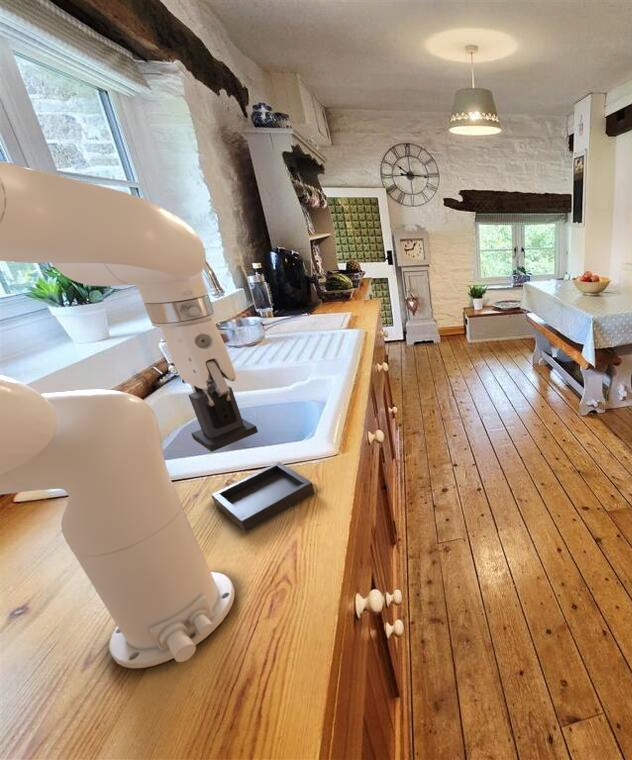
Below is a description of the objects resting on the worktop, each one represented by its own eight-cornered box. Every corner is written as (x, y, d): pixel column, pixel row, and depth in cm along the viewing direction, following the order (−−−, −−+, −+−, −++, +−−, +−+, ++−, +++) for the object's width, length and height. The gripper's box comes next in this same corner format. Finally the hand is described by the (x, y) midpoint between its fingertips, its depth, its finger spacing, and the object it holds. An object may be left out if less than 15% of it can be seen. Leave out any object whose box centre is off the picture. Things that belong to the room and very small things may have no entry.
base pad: (314, 492, 75) (311, 482, 74) (245, 532, 66) (241, 521, 65) (281, 471, 82) (278, 461, 81) (214, 504, 73) (210, 494, 72)
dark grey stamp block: (258, 432, 68) (243, 387, 65) (211, 452, 63) (193, 404, 60) (239, 421, 72) (224, 378, 69) (193, 439, 67) (175, 394, 64)
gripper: (234, 311, 57) (269, 425, 65) (189, 299, 66) (224, 401, 74) (171, 324, 52) (217, 447, 59) (130, 309, 61) (175, 418, 68)
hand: (220, 420), depth 66 cm, fingers closed on dark grey stamp block, 3 cm apart
